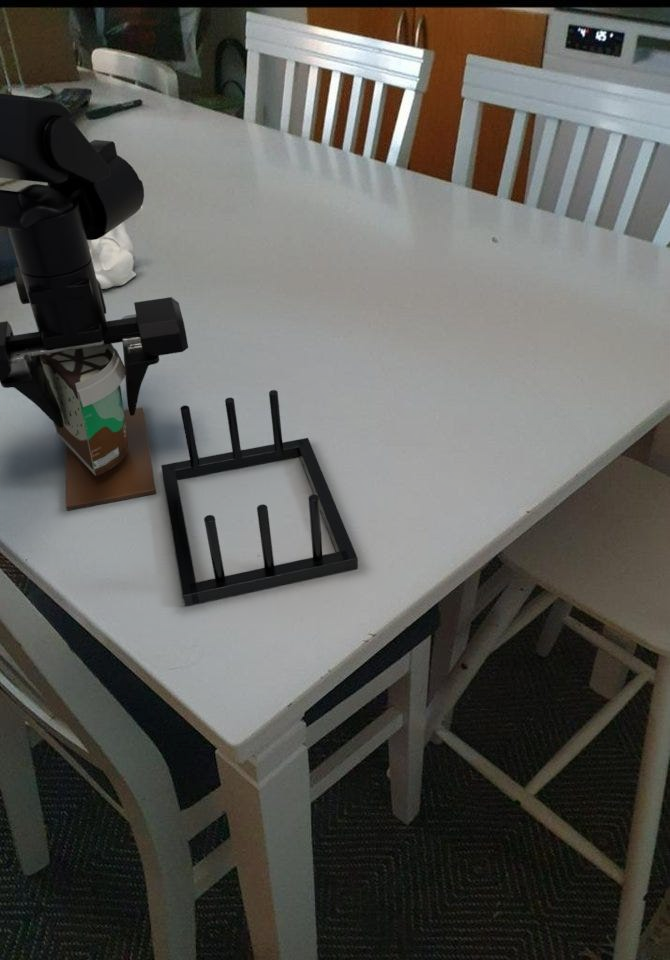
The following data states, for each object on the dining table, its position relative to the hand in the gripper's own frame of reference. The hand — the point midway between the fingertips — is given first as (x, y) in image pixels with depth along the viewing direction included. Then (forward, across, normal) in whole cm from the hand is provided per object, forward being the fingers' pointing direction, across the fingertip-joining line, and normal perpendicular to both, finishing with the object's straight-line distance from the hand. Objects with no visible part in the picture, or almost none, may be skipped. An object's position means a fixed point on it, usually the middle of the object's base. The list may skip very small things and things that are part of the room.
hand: (97, 419), depth 76 cm
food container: (+3, 0, 0) cm, 3 cm away
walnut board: (+5, 0, 0) cm, 5 cm away
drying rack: (+5, -12, +13) cm, 18 cm away
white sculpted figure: (+5, -4, -41) cm, 42 cm away
